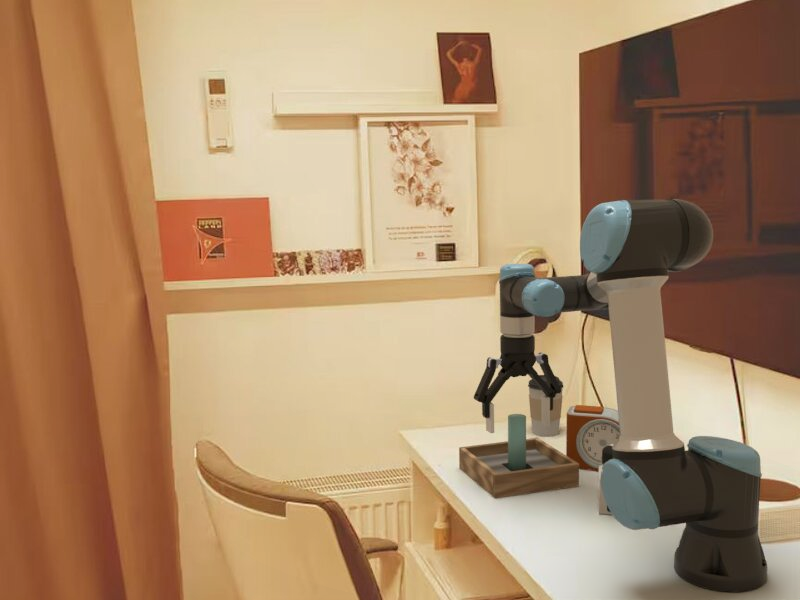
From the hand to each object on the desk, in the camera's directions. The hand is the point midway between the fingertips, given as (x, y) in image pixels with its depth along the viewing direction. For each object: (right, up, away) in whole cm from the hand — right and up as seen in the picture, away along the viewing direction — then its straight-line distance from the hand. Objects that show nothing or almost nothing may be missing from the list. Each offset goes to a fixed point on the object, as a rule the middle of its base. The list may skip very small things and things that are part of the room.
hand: (518, 428), depth 202 cm
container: (+18, -14, -17) cm, 28 cm away
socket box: (0, -11, +2) cm, 11 cm away
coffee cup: (+12, -6, +34) cm, 36 cm away
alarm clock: (+20, -10, +9) cm, 24 cm away
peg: (0, -11, +2) cm, 11 cm away
